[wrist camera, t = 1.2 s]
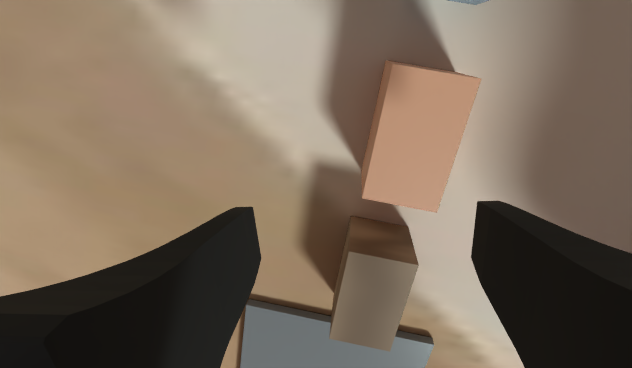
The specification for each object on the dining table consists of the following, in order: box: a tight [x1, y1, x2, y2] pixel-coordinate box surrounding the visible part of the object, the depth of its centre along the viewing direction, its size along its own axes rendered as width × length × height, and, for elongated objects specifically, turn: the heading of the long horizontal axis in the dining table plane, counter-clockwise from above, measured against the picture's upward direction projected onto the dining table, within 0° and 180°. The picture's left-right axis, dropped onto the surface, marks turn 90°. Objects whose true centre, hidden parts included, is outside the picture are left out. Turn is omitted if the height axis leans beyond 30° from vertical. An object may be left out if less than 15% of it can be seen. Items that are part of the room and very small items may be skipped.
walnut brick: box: [329, 216, 418, 352], centre depth 20 cm, size 4×6×4 cm, turn 171°
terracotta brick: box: [361, 60, 481, 213], centre depth 16 cm, size 4×6×4 cm, turn 171°
